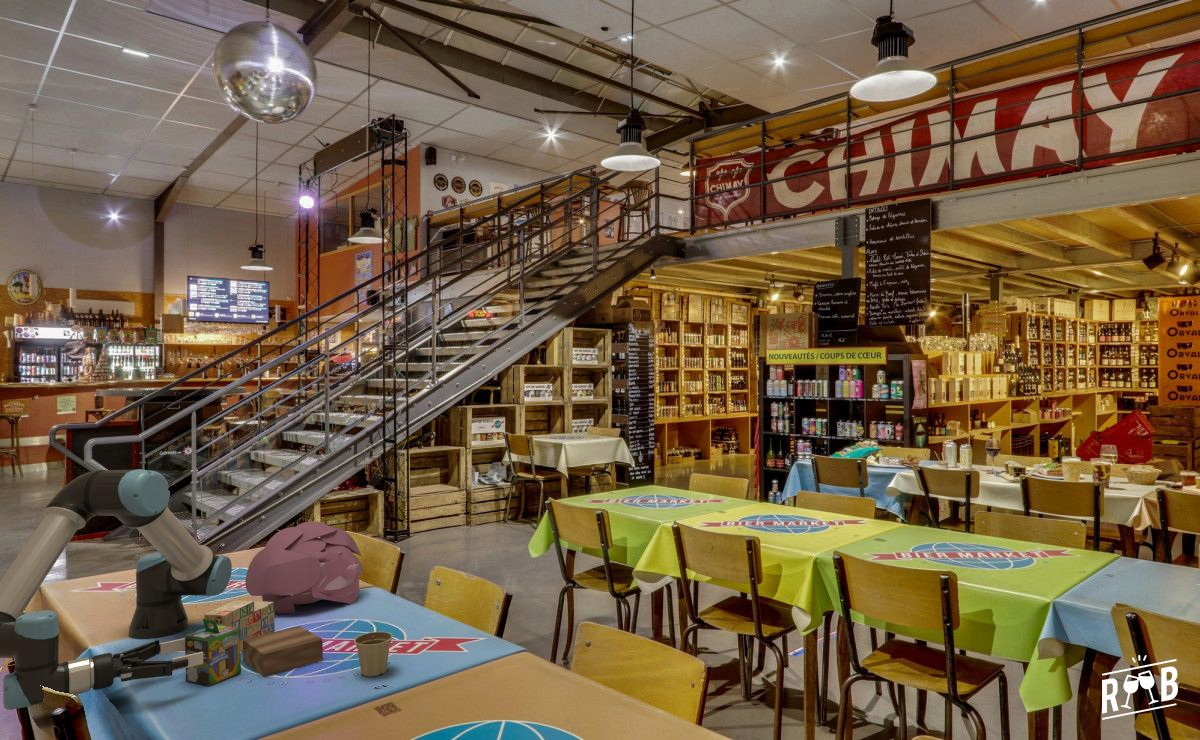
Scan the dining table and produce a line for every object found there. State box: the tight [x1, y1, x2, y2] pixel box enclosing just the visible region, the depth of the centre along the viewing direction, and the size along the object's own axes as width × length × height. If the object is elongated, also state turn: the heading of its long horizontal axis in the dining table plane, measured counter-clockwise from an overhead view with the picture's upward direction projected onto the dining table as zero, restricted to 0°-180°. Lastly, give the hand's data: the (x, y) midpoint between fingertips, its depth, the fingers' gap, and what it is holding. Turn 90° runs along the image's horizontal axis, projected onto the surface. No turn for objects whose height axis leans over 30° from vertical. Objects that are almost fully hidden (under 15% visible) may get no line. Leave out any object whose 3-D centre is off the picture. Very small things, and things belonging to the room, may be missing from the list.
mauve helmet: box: [245, 520, 364, 614], centre depth 239 cm, size 36×24×29 cm
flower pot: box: [353, 631, 394, 677], centre depth 181 cm, size 9×9×9 cm
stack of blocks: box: [203, 600, 275, 653], centre depth 201 cm, size 21×6×12 cm, turn 170°
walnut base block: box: [242, 625, 324, 678], centre depth 189 cm, size 15×15×6 cm
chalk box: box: [184, 617, 242, 687], centre depth 179 cm, size 9×9×15 cm
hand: (196, 649), depth 176 cm, fingers open, 13 cm apart
